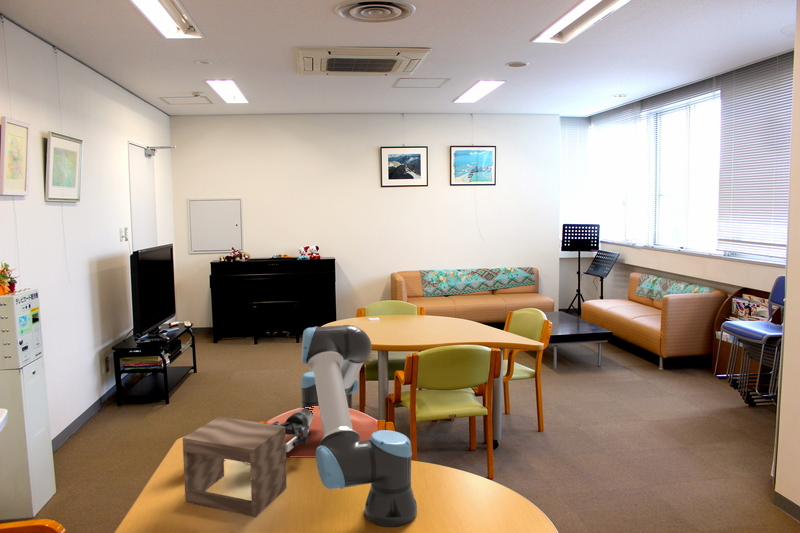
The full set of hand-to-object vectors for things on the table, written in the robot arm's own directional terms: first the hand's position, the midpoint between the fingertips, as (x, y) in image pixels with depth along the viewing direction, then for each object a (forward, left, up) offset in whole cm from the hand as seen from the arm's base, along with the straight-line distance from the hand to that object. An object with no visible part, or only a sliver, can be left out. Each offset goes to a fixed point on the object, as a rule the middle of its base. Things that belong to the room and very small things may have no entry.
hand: (268, 445), depth 185 cm
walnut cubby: (-7, +17, -8) cm, 20 cm away
